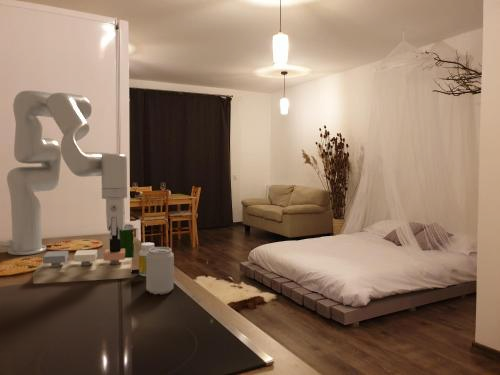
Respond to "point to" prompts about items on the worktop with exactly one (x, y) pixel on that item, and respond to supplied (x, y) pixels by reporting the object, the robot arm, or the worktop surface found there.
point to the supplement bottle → (144, 257)
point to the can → (160, 270)
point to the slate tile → (55, 258)
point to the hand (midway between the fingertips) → (115, 251)
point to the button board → (83, 271)
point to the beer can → (127, 240)
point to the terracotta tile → (114, 256)
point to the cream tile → (85, 256)
